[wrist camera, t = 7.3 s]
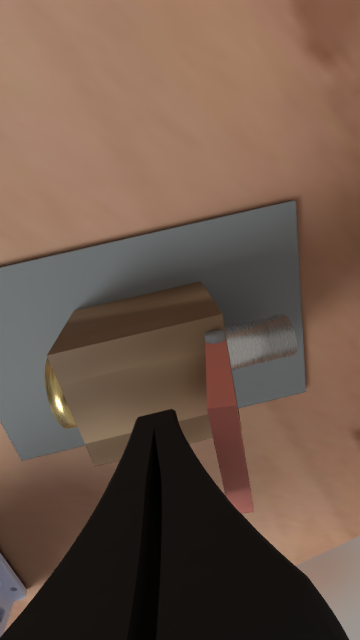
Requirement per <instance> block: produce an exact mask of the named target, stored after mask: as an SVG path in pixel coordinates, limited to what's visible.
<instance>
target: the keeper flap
mask: <svg viewBox="0 0 360 640" xmlns="http://www.w3.org/2000/svg"><path fill="white" fill-rule="evenodd" d="M204 337H205V353H206V390H207V411H208V416H209V420H210V425H211V430H212V434H213V439H214V444H215V448H216V453H217V458H218V462H219V467H220V472H221V476H222V481H223V486H224V490H225V495H226V497H227V498H228V500H229V501H230V502H231V503H232V504H233V505H234V507H235V508H236V509H237V510H238V511H239V512H240V513H248V512H254V508H253V502H252V496H251V490H250V484H249V477H248V471H247V465H246V459H245V453H244V447H243V440H242V434H241V428H240V422H239V416H238V410H237V404H236V398H235V392H234V386H233V379H232V373H231V367H230V361H229V355H228V349H227V343H226V337H225V332H224V331H223V330H218V329H217V330H213V331H209V332H207V333H205V335H204Z"/></svg>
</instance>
